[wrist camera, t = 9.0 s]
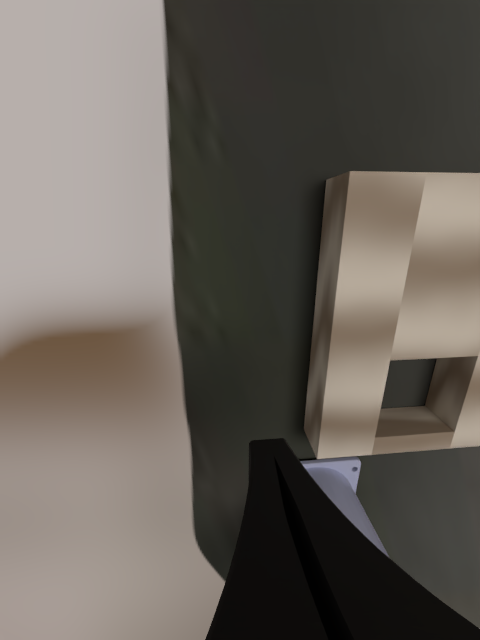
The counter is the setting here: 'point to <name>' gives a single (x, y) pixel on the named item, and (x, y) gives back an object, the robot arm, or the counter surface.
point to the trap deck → (396, 312)
